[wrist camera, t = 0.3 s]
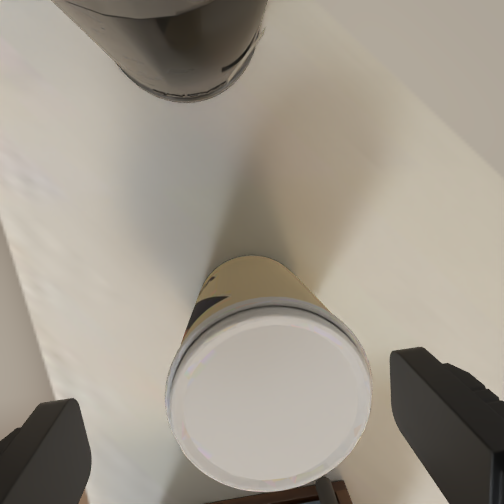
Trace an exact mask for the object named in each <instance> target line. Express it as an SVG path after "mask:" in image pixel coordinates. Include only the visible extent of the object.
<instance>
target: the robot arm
mask: <svg viewBox="0 0 504 504" xmlns="http://www.w3.org/2000/svg"><path fill="white" fill-rule="evenodd" d="M51 1H52V2H53V3H54V4H55V5H56V6H58V7H59V8H60V9H61V10H62V11H63V12H64V13H65V14H66V15H67V16H68V17H69V18H70V19H71V20H72V21H73V22H74V23H75V24H76V25H77V26H78V27H79V28H80V29H81V30H83V31H84V32H85V33H86V34H87V35H88V36H89V37H90V38H91V39H92V40H93V41H94V42H95V43H96V44H97V45H98V46H99V47H100V48H101V49H102V50H103V51H104V52H105V53H106V54H108V55H109V56H110V57H111V58H112V59H113V60H114V61H115V62H116V63H117V65H118V66H119V67H120V68H121V70H122V71H123V72H124V73H125V74H126V75H127V76H128V77H129V78H130V79H131V80H132V81H133V82H134V83H136V84H137V85H138V86H139V87H141V88H142V89H143V90H145V91H147V92H148V93H150V94H152V95H154V96H156V97H159V98H162V99H165V100H169V101H173V102H183V103H189V102H198V101H203V100H206V99H209V98H212V97H214V96H216V95H218V94H220V93H222V92H223V91H225V90H226V89H228V88H229V87H230V86H231V85H233V84H234V83H235V82H236V81H237V80H238V78H239V77H240V76H241V75H242V74H243V72H244V71H245V69H246V67H247V66H248V64H249V62H250V60H251V58H252V55H253V53H254V50H255V46H256V44H257V43H258V41H259V40H260V39H261V37H262V36H263V34H264V31H265V29H264V30H263V31H262V33H261V34H260V35H259V37H258V34H259V28H260V25H261V22H262V18H263V15H264V11H265V8H266V5H267V1H268V0H51ZM265 28H266V27H265ZM390 383H391V406H392V412H393V416H394V419H395V422H396V424H397V426H398V428H399V430H400V432H401V433H402V435H403V436H404V437H405V439H406V440H407V442H408V443H409V445H410V446H411V448H412V449H413V451H414V452H415V454H416V455H417V457H418V458H419V460H420V461H421V462H422V464H423V465H424V467H425V468H426V470H427V471H428V473H429V474H430V476H431V477H432V479H433V480H434V482H435V483H436V485H437V486H438V488H439V489H440V490H441V492H442V493H443V495H444V496H445V498H446V499H447V501H448V502H449V504H504V402H503V401H500V400H499V397H497V396H496V395H495V394H494V393H493V392H491V391H490V390H489V389H486V388H485V386H484V385H483V384H482V383H481V382H479V381H478V380H477V379H476V378H475V377H473V376H472V375H471V374H470V373H468V372H466V371H464V370H462V369H460V368H457V367H455V366H453V365H451V364H449V363H445V364H442V363H441V362H439V361H438V360H437V359H436V358H435V357H434V356H433V355H432V354H430V353H429V352H428V351H427V350H426V349H425V348H423V347H416V348H409V349H402V350H396V351H392V352H391V354H390ZM90 471H91V450H90V446H89V442H88V438H87V434H86V430H85V426H84V422H83V419H82V415H81V411H80V407H79V404H78V402H77V400H75V399H74V398H70V399H64V400H57V401H50V402H44V403H40V404H39V405H38V406H37V407H36V409H35V410H34V411H33V413H32V414H31V415H30V417H29V418H28V419H27V420H26V422H25V423H24V424H23V426H22V427H21V428H16V429H15V430H14V431H13V432H11V433H10V434H9V435H8V436H6V437H5V438H4V439H2V440H1V441H0V504H78V503H79V501H80V498H81V496H82V494H83V491H84V489H85V486H86V484H87V482H88V479H89V476H90Z"/></svg>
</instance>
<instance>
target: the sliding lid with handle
mask: <svg viewBox="0 0 504 504" xmlns="http://www.w3.org/2000/svg"><path fill="white" fill-rule="evenodd" d="M315 487H316V490H317V493H318V497H319V500H318V501H312V502H307V503H301V504H338V501H337V499H336V496H335V493H334V490H333V487H332V484H331V481H330V480H329V479H328V478H326V477H321V478H319V479H318V480H317V481H316V483H315Z"/></svg>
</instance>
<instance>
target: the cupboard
mask: <svg viewBox="0 0 504 504" xmlns="http://www.w3.org/2000/svg"><path fill="white" fill-rule="evenodd" d="M331 484H332V487H333V490H334V493H335V496H336V499H337V501H338V504H352V501H351V498H350V496H349V493H348V491H347V488H346V485H345V483H344V481H343V480H342V481H336V482H331ZM318 500H319V497H318V493H317V490H316V487H315V485H312V486H306V487H300V488H295V489H289V490H283V491H277V492H271V493H265V494H259V495H253V496H247V497H241V498H235V499H230V500H224V501H218V502H212V503H206V504H301V503H307V502H312V501H318Z"/></svg>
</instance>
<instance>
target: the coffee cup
mask: <svg viewBox="0 0 504 504" xmlns="http://www.w3.org/2000/svg"><path fill="white" fill-rule="evenodd" d="M371 399H372V375H371V369H370V365H369V361H368V359H367V356H366V354H365V351H364V349H363V347H362V346H361V344H360V342H359V340H358V339H357V338H356V336H355V335H354V334H353V332H352V331H351V330H350V329H349V328H348V327H347V326H346V325H345V324H344V323H343V322H342V321H341V320H339V319H338V318H337V317H336V316H335V315H333V314H332V313H331V312H330V311H329V310H328V309H327V308H326V307H325V306H324V305H323V304H322V303H321V302H320V301H319V300H318V299H317V298H316V297H315V295H314V294H313V293H312V292H311V291H310V290H309V289H308V288H307V287H306V286H305V285H304V284H303V283H302V282H301V281H300V280H299V279H298V278H297V277H296V276H295V275H294V274H293V273H292V272H291V271H290V270H288V269H287V268H286V267H285V266H283V265H282V264H280V263H279V262H277V261H275V260H273V259H270V258H267V257H262V256H249V255H248V256H241V257H237V258H234V259H231V260H229V261H227V262H225V263H223V264H221V265H220V266H219V267H217V268H216V269H215V270H214V271H213V272H212V273H211V274H210V275H209V277H208V278H207V279H206V281H205V283H204V285H203V287H202V289H201V291H200V293H199V296H198V298H197V301H196V304H195V307H194V309H193V312H192V315H191V317H190V320H189V323H188V326H187V328H186V331H185V334H184V337H183V340H182V343H181V346H180V348H179V350H178V351H177V353H176V355H175V357H174V360H173V362H172V364H171V367H170V370H169V373H168V377H167V382H166V390H165V407H166V414H167V419H168V422H169V425H170V428H171V431H172V433H173V435H174V437H175V439H176V440H177V442H178V444H179V446H180V448H181V449H182V451H183V453H184V454H185V455H186V457H187V458H188V459H189V460H190V461H191V462H192V463H193V464H194V465H195V466H196V467H197V468H198V469H199V470H200V471H201V472H203V473H204V474H205V475H207V476H209V477H210V478H212V479H214V480H216V481H218V482H219V483H222V484H224V485H227V486H230V487H233V488H237V489H240V490H247V491H255V492H273V491H282V490H287V489H292V488H295V487H299V486H302V485H304V484H307V483H309V482H311V481H314V480H316V479H318V478H320V477H322V476H323V475H325V474H326V473H328V472H329V471H331V470H332V469H333V468H335V467H336V466H337V465H338V464H339V463H340V462H342V461H343V460H344V459H345V458H346V457H347V456H348V455H349V454H350V452H351V451H352V450H353V448H354V447H355V445H356V444H357V442H358V441H359V439H360V438H361V436H362V434H363V432H364V429H365V427H366V424H367V421H368V418H369V414H370V410H371Z"/></svg>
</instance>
